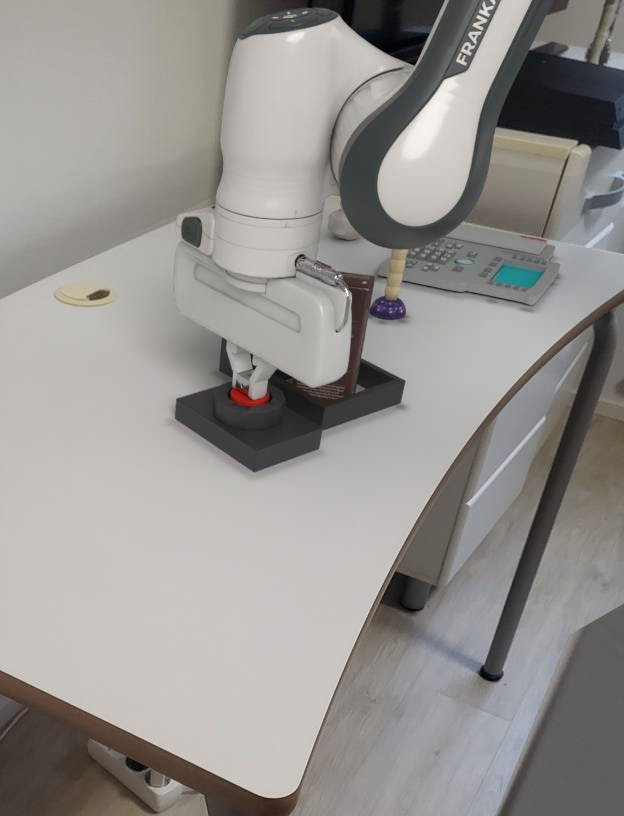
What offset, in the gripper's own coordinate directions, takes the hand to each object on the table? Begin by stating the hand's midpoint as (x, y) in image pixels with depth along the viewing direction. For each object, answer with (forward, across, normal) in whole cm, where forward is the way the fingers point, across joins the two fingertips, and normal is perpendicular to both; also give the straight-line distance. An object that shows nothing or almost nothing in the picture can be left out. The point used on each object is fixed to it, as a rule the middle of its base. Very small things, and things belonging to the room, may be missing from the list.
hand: (248, 392), depth 90 cm
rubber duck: (+4, +36, -48) cm, 60 cm away
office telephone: (+4, +19, -56) cm, 59 cm away
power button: (+2, 0, 0) cm, 2 cm away
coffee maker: (+4, +4, -12) cm, 13 cm away
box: (+4, +2, -12) cm, 13 cm away
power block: (+4, 0, 0) cm, 4 cm away
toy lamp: (+4, +14, -34) cm, 37 cm away
